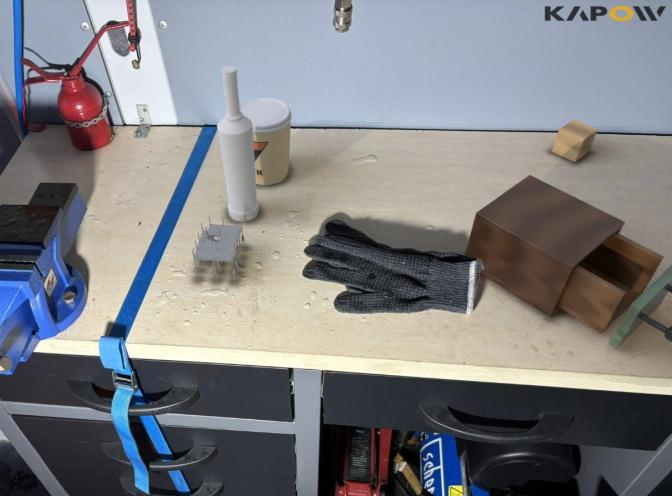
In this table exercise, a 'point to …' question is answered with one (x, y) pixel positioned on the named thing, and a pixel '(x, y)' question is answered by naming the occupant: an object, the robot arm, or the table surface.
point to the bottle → (237, 153)
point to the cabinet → (537, 240)
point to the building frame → (219, 246)
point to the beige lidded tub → (269, 138)
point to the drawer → (617, 288)
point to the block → (574, 140)
